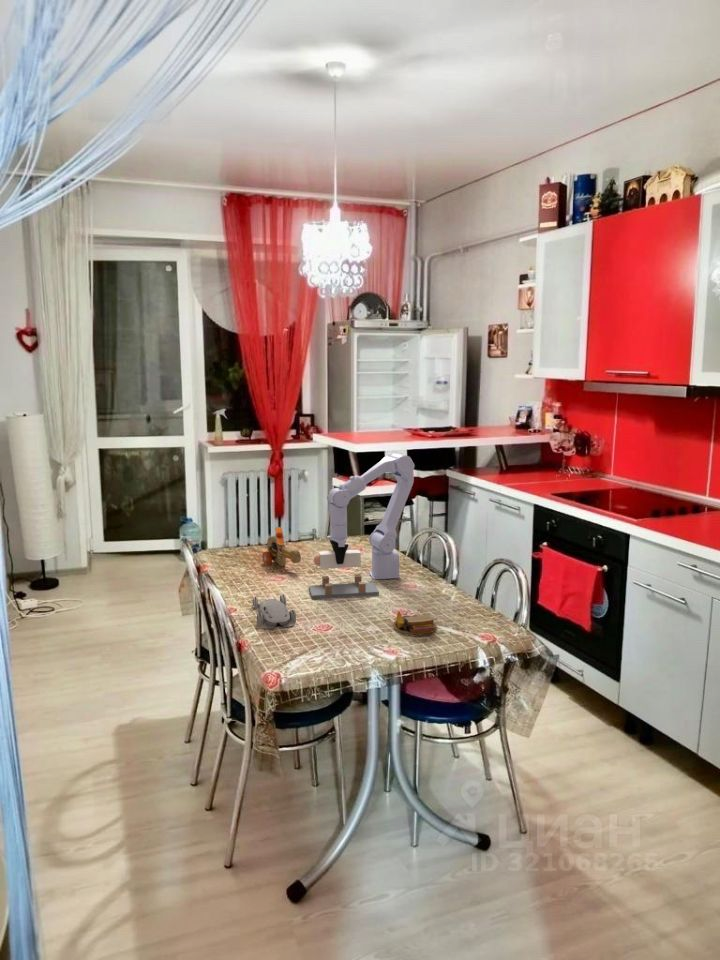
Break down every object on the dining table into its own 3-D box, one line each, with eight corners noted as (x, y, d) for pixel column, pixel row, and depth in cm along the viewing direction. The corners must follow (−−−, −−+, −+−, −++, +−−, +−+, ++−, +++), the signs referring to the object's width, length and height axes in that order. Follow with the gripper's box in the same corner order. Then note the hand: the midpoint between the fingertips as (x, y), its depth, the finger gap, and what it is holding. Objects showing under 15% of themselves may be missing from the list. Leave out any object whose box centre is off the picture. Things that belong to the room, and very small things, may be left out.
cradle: (373, 585, 246) (373, 573, 246) (379, 595, 236) (379, 583, 236) (309, 588, 243) (308, 577, 242) (312, 599, 233) (311, 586, 232)
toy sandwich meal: (433, 620, 215) (433, 605, 215) (440, 638, 202) (440, 622, 201) (391, 621, 215) (391, 606, 214) (395, 639, 202) (395, 623, 201)
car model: (285, 602, 231) (285, 587, 230) (299, 630, 208) (299, 614, 207) (250, 605, 228) (250, 590, 227) (260, 634, 205) (260, 617, 204)
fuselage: (358, 563, 252) (358, 549, 252) (360, 566, 249) (360, 552, 248) (313, 565, 250) (313, 551, 249) (314, 569, 246) (314, 555, 245)
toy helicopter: (278, 558, 278) (278, 524, 276) (309, 571, 262) (308, 534, 260) (260, 562, 273) (259, 527, 271) (289, 575, 257) (289, 538, 255)
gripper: (324, 519, 253) (325, 556, 255) (329, 529, 239) (330, 568, 241) (344, 518, 254) (344, 555, 257) (350, 528, 240) (351, 567, 243)
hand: (339, 561), depth 249 cm, fingers closed on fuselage, 4 cm apart
